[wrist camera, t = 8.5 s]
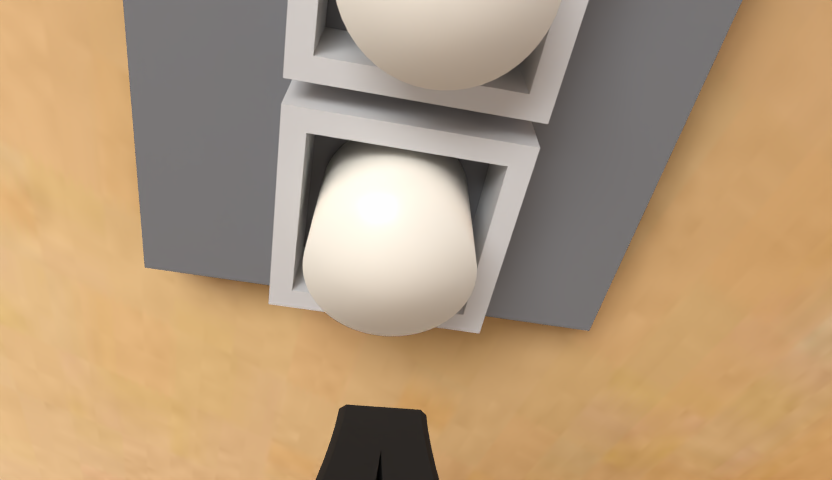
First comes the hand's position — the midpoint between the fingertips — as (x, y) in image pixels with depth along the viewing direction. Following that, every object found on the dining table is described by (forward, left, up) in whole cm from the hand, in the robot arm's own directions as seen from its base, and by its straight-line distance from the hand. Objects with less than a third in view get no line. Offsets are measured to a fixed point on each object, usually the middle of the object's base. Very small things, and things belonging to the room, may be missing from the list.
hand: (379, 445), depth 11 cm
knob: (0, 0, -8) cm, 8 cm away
